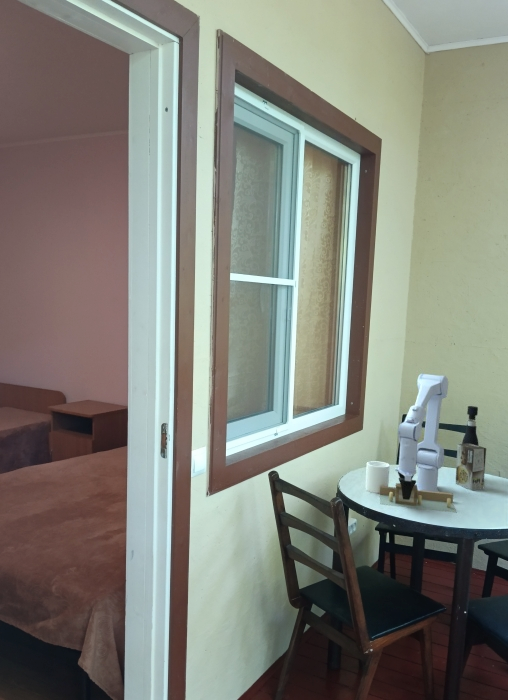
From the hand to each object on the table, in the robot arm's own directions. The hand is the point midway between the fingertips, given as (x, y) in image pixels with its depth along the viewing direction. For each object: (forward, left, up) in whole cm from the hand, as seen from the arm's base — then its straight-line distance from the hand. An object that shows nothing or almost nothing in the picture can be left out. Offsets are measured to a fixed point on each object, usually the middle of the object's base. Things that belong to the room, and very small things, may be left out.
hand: (405, 495), depth 194 cm
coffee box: (-31, +26, -3) cm, 41 cm away
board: (-1, +4, -3) cm, 5 cm away
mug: (-13, -9, -3) cm, 17 cm away
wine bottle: (-41, +27, -3) cm, 50 cm away
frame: (0, 0, -2) cm, 2 cm away
